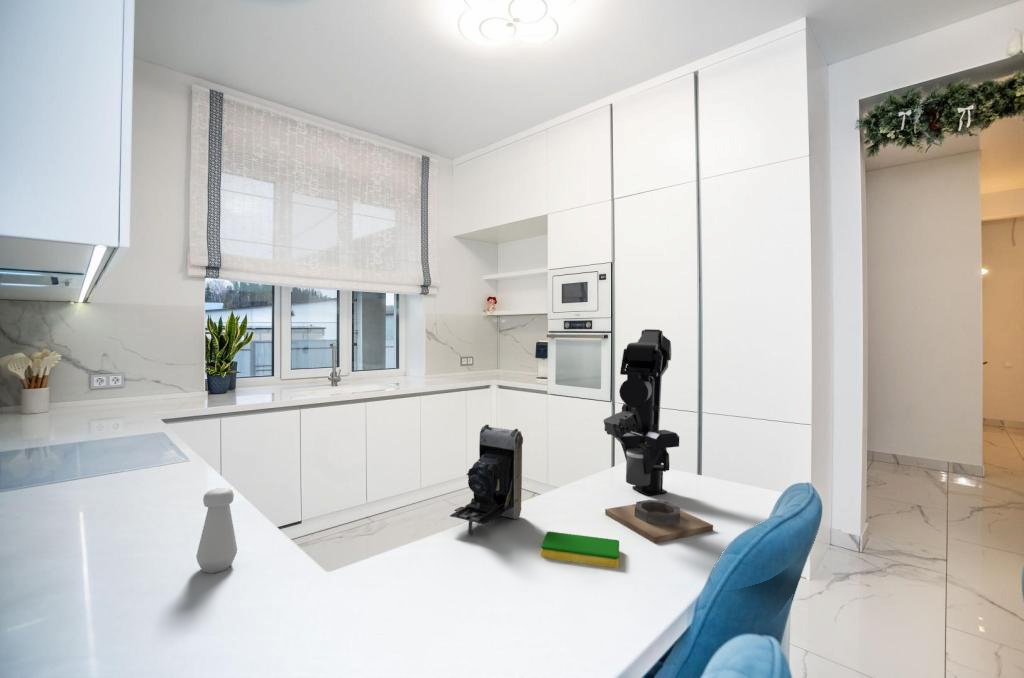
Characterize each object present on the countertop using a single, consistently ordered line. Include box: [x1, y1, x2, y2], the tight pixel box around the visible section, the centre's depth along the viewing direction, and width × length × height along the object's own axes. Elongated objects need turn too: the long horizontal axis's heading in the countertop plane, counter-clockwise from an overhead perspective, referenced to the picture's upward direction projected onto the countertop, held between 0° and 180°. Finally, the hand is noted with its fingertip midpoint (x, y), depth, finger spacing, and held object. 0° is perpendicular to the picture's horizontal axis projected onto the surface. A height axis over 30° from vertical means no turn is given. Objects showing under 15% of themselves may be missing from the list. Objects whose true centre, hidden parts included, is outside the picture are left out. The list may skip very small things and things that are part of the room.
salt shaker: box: [195, 487, 238, 574], centre depth 78 cm, size 6×6×13 cm
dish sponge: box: [540, 530, 620, 569], centre depth 87 cm, size 7×14×2 cm, turn 76°
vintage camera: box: [449, 424, 524, 536], centre depth 99 cm, size 10×16×20 cm, turn 152°
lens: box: [625, 448, 650, 486], centre depth 104 cm, size 5×5×7 cm
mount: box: [604, 499, 714, 544], centre depth 103 cm, size 16×16×3 cm
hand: (638, 470), depth 104 cm, fingers closed on lens, 5 cm apart
